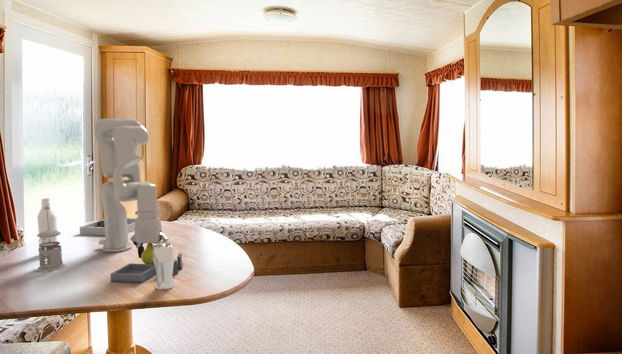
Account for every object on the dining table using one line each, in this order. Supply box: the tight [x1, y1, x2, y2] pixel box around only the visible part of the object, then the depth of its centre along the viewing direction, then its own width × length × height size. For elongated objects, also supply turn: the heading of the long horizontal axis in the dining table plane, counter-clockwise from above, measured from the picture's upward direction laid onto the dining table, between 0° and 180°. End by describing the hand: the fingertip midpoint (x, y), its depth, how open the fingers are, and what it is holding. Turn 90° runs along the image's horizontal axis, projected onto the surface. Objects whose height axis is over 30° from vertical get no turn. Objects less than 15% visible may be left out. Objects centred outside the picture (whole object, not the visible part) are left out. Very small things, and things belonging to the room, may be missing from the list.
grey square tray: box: [110, 263, 156, 284], centre depth 156 cm, size 12×12×3 cm
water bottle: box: [36, 198, 58, 250], centre depth 185 cm, size 7×7×25 cm
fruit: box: [140, 243, 154, 264], centre depth 170 cm, size 7×7×12 cm
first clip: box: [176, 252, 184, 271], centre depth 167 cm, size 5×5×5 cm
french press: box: [36, 206, 66, 272], centre depth 167 cm, size 10×12×25 cm
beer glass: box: [153, 242, 175, 291], centre depth 145 cm, size 7×7×15 cm
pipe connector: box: [97, 219, 105, 227], centre depth 231 cm, size 12×5×15 cm
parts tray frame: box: [79, 217, 137, 236], centre depth 233 cm, size 24×24×4 cm
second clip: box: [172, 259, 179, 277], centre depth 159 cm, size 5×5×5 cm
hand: (150, 257), depth 170 cm, fingers closed on fruit, 6 cm apart
